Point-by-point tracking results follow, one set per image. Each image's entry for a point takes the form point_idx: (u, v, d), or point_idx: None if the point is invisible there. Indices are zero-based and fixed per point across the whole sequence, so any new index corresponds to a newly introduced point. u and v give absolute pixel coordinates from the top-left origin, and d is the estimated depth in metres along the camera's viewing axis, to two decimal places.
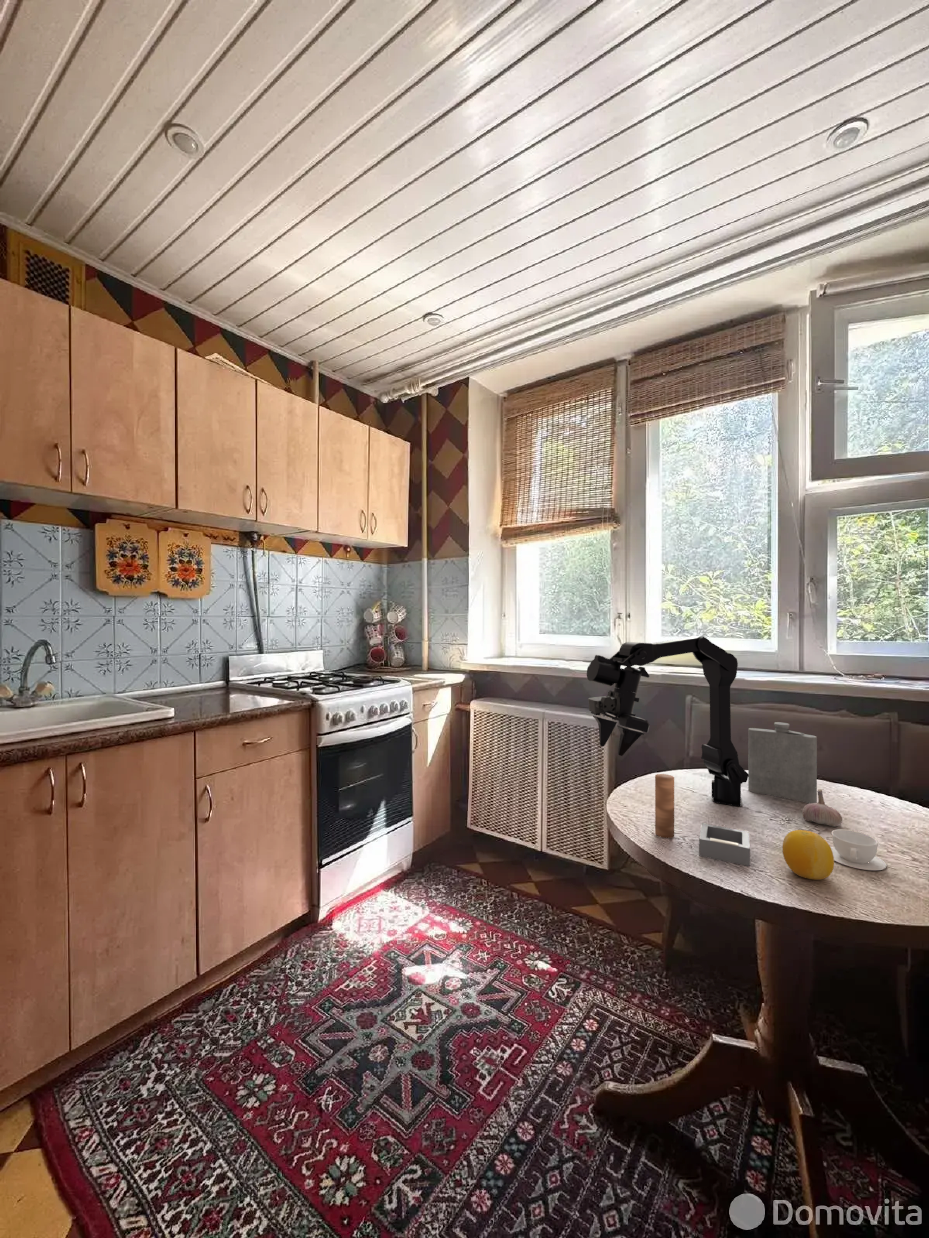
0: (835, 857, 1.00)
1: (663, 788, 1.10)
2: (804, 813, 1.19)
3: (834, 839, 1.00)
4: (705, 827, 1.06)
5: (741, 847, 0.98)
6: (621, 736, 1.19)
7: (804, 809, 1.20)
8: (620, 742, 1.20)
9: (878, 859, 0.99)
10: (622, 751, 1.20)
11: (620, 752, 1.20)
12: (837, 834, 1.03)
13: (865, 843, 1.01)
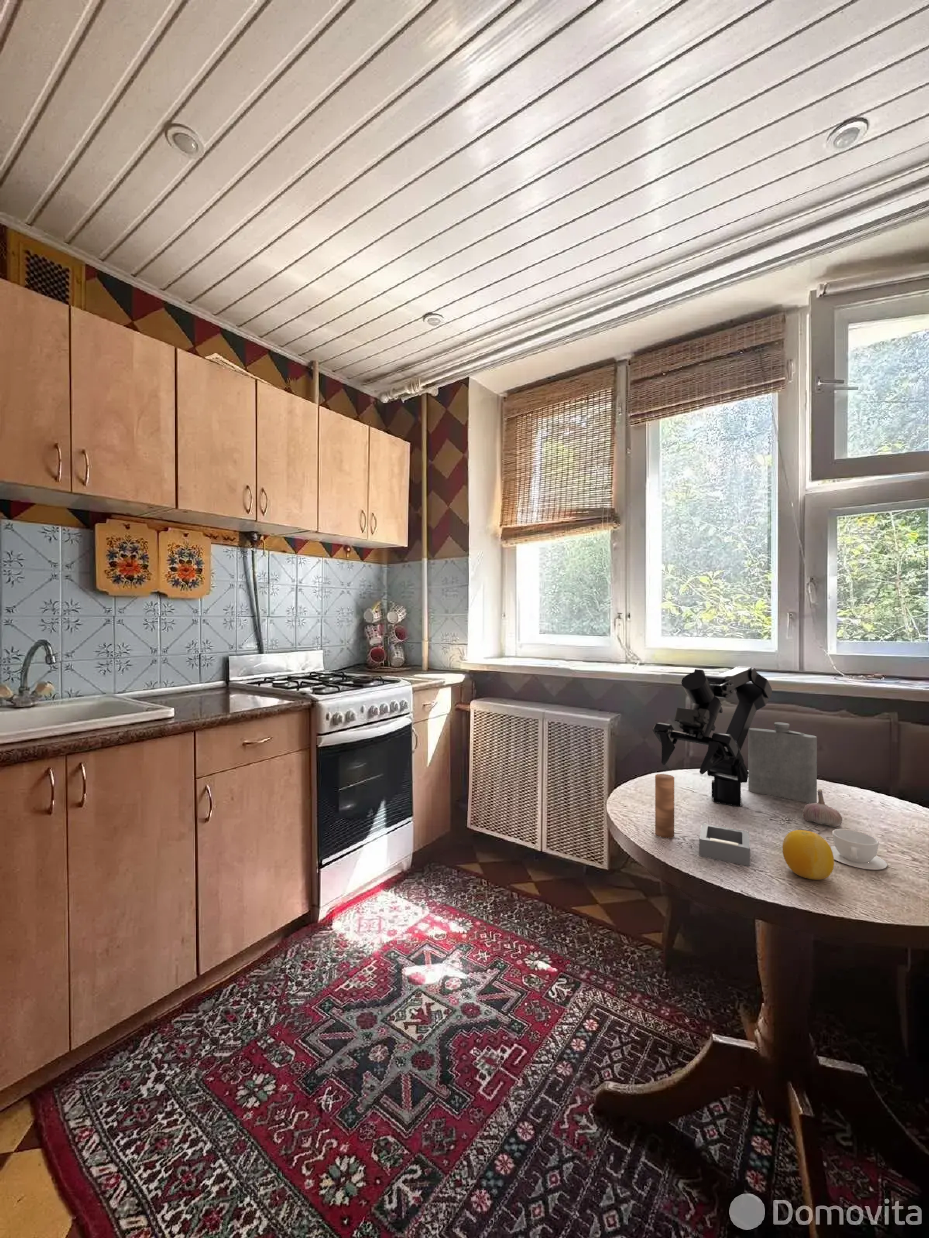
0: (836, 856, 1.00)
1: (663, 788, 1.10)
2: (804, 813, 1.19)
3: (835, 838, 1.01)
4: (705, 827, 1.06)
5: (741, 847, 0.98)
6: (709, 753, 1.13)
7: (804, 809, 1.20)
8: (706, 759, 1.13)
9: (879, 858, 1.00)
10: (704, 770, 1.13)
11: (703, 769, 1.12)
12: (838, 833, 1.03)
13: (865, 843, 1.01)
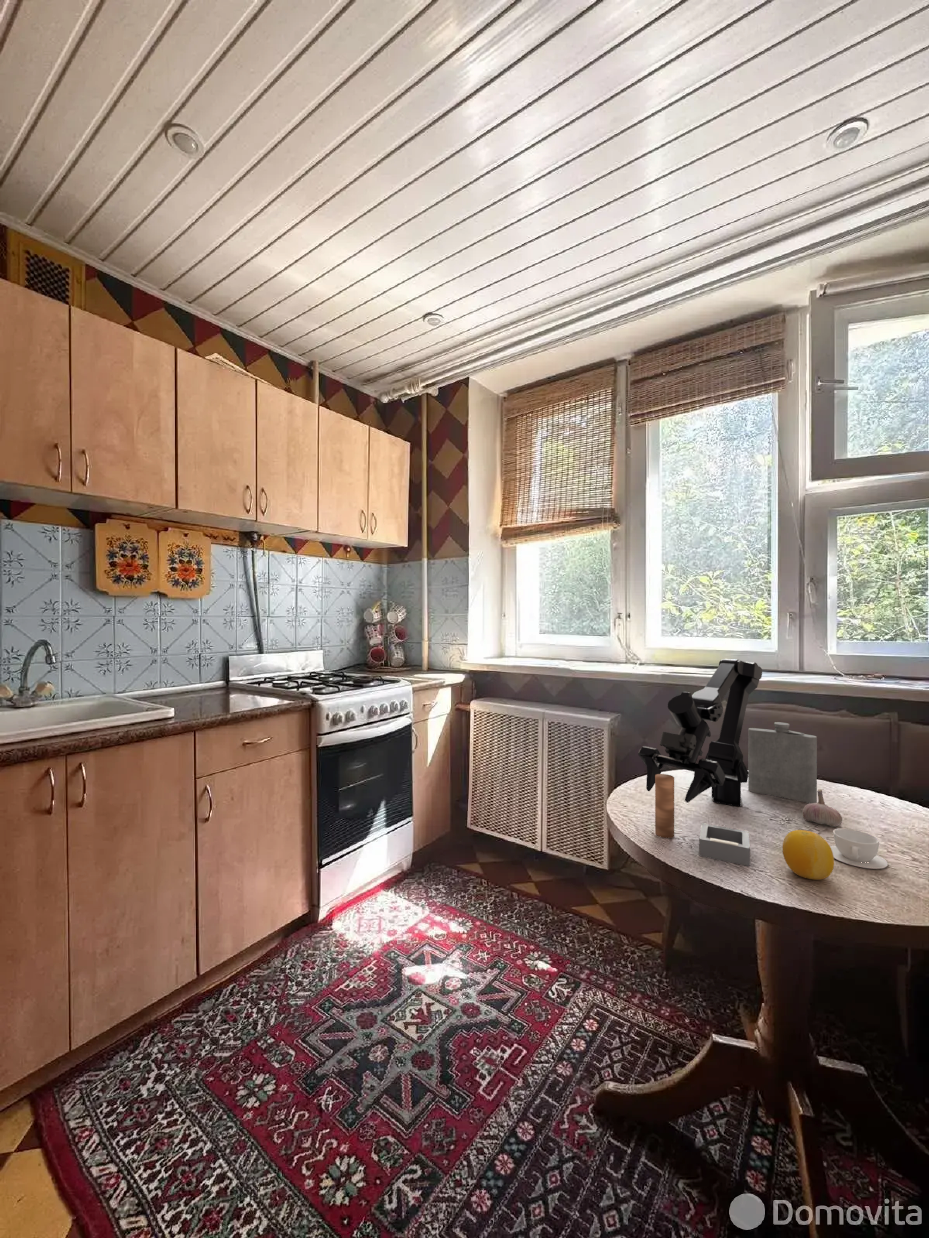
0: (837, 856, 1.01)
1: (663, 788, 1.10)
2: (804, 813, 1.19)
3: (836, 838, 1.01)
4: (705, 827, 1.06)
5: (741, 847, 0.98)
6: (694, 781, 1.09)
7: (804, 809, 1.20)
8: (692, 787, 1.09)
9: (879, 857, 1.00)
10: (690, 798, 1.09)
11: (688, 798, 1.08)
12: (839, 833, 1.04)
13: (866, 842, 1.02)
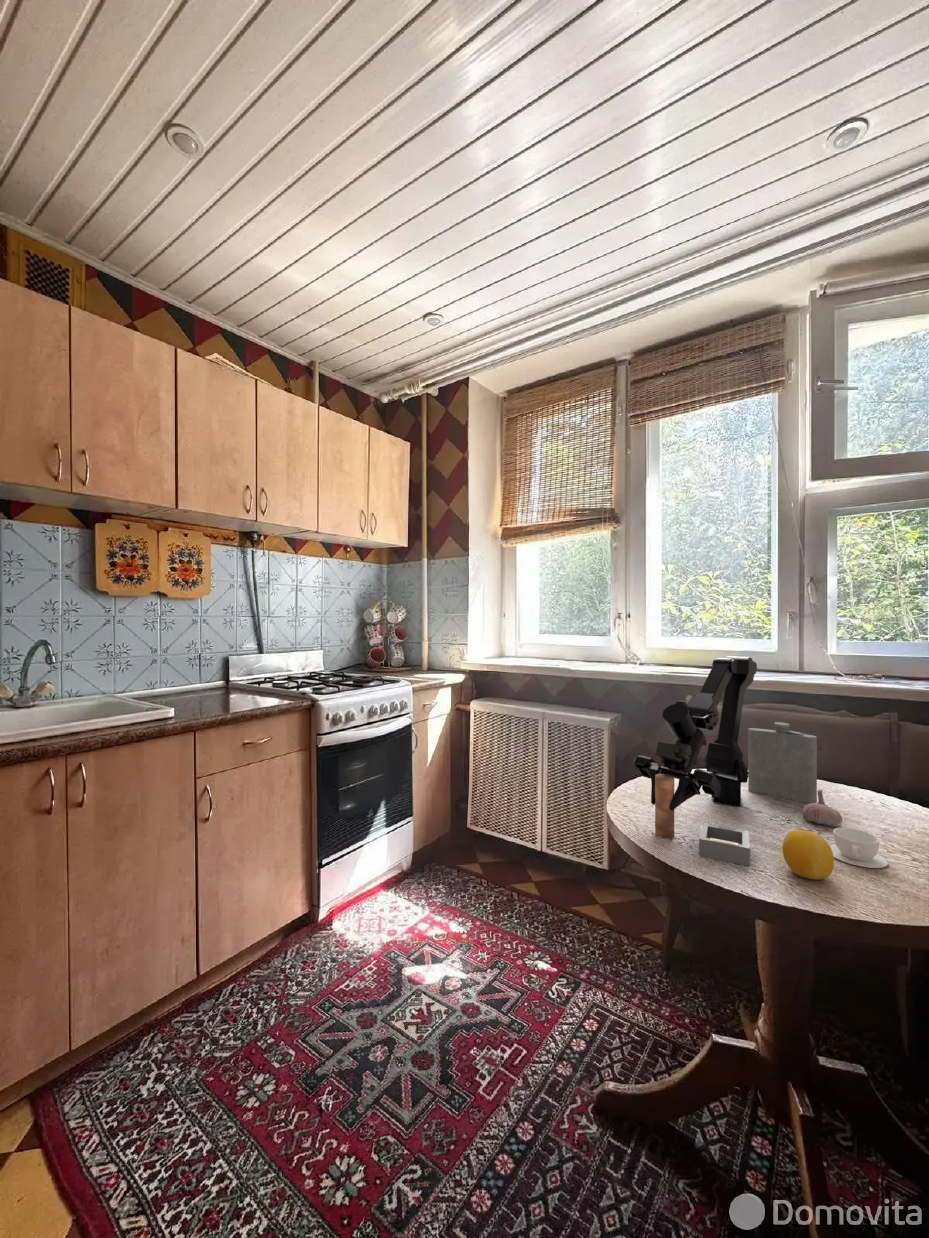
0: (837, 855, 1.01)
1: (663, 788, 1.10)
2: (804, 813, 1.19)
3: (836, 837, 1.01)
4: (705, 827, 1.06)
5: (741, 847, 0.98)
6: (679, 789, 1.10)
7: (804, 809, 1.20)
8: (676, 795, 1.09)
9: (880, 857, 1.00)
10: (674, 806, 1.09)
11: (673, 806, 1.09)
12: (839, 832, 1.04)
13: (866, 841, 1.02)
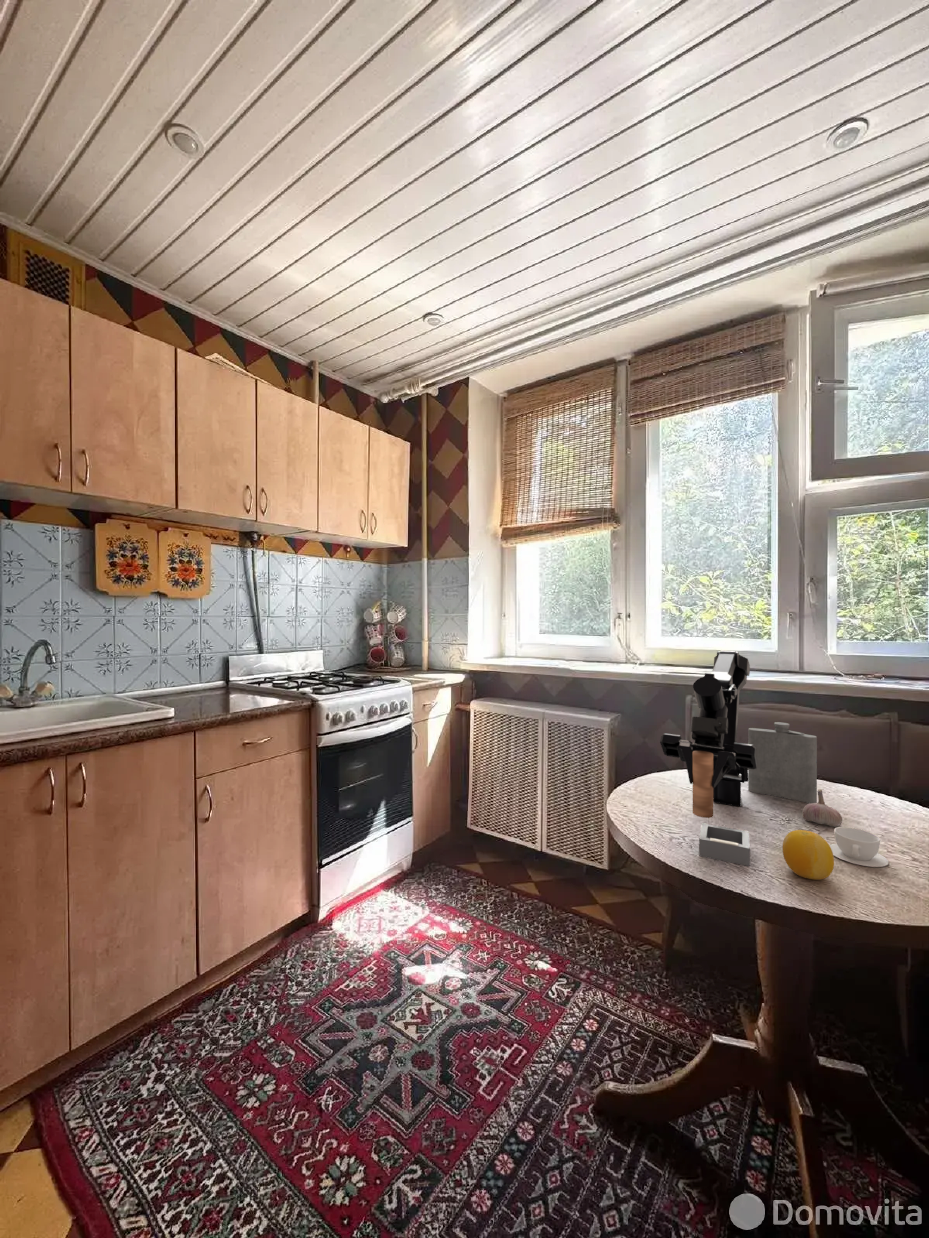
0: (837, 854, 1.02)
1: (705, 765, 1.03)
2: (804, 813, 1.19)
3: (837, 836, 1.02)
4: (705, 827, 1.06)
5: (741, 847, 0.98)
6: (719, 764, 1.04)
7: (804, 809, 1.20)
8: (717, 771, 1.04)
9: (880, 856, 1.01)
10: (716, 783, 1.03)
11: (715, 783, 1.03)
12: (840, 831, 1.04)
13: (867, 840, 1.02)
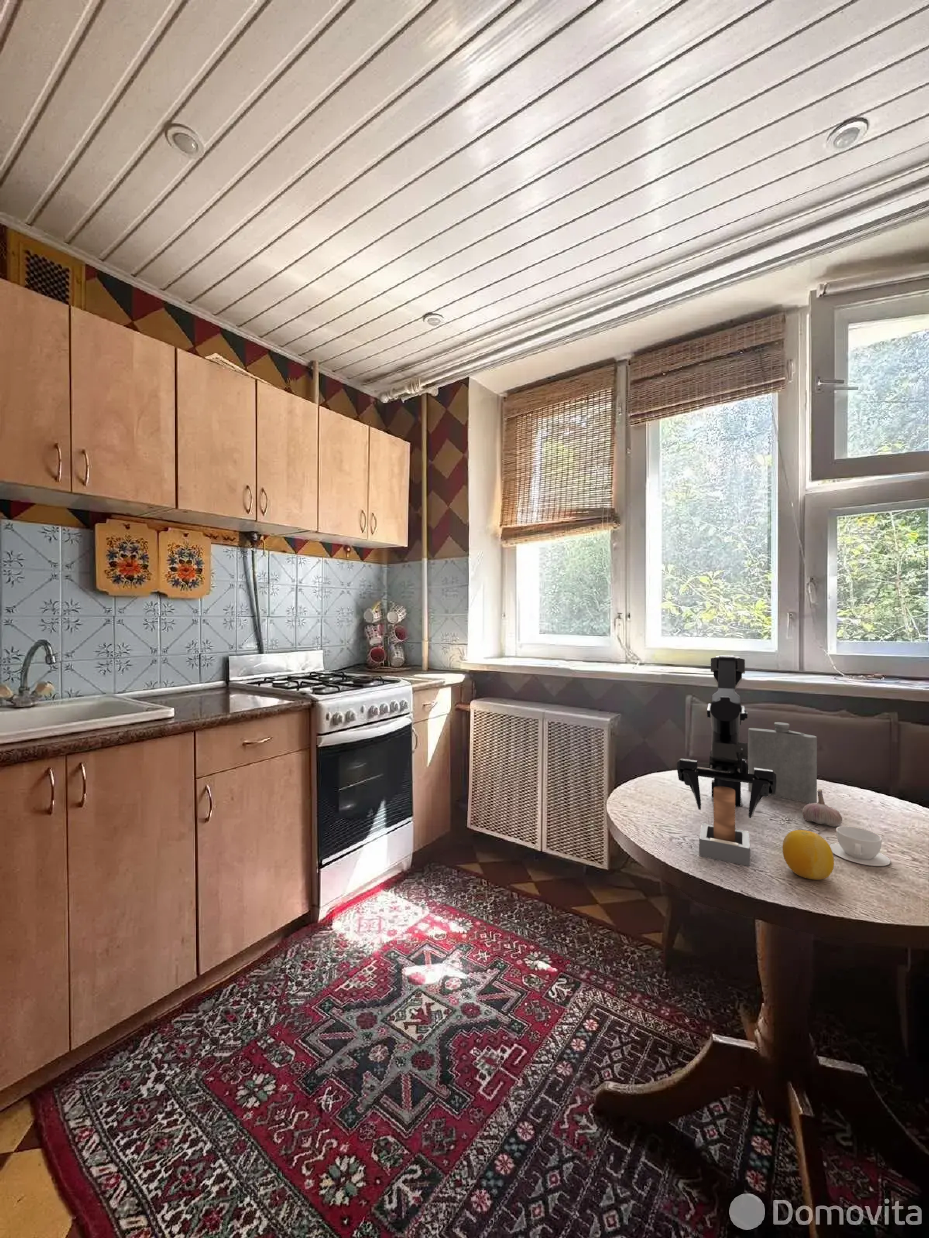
0: (840, 853, 1.02)
1: (728, 802, 1.01)
2: (804, 813, 1.19)
3: (839, 835, 1.02)
4: (705, 827, 1.06)
5: (741, 847, 0.98)
6: (754, 793, 1.01)
7: (804, 809, 1.20)
8: (753, 800, 1.01)
9: (882, 855, 1.01)
10: (752, 813, 1.00)
11: (752, 813, 1.00)
12: (842, 831, 1.05)
13: (869, 839, 1.03)
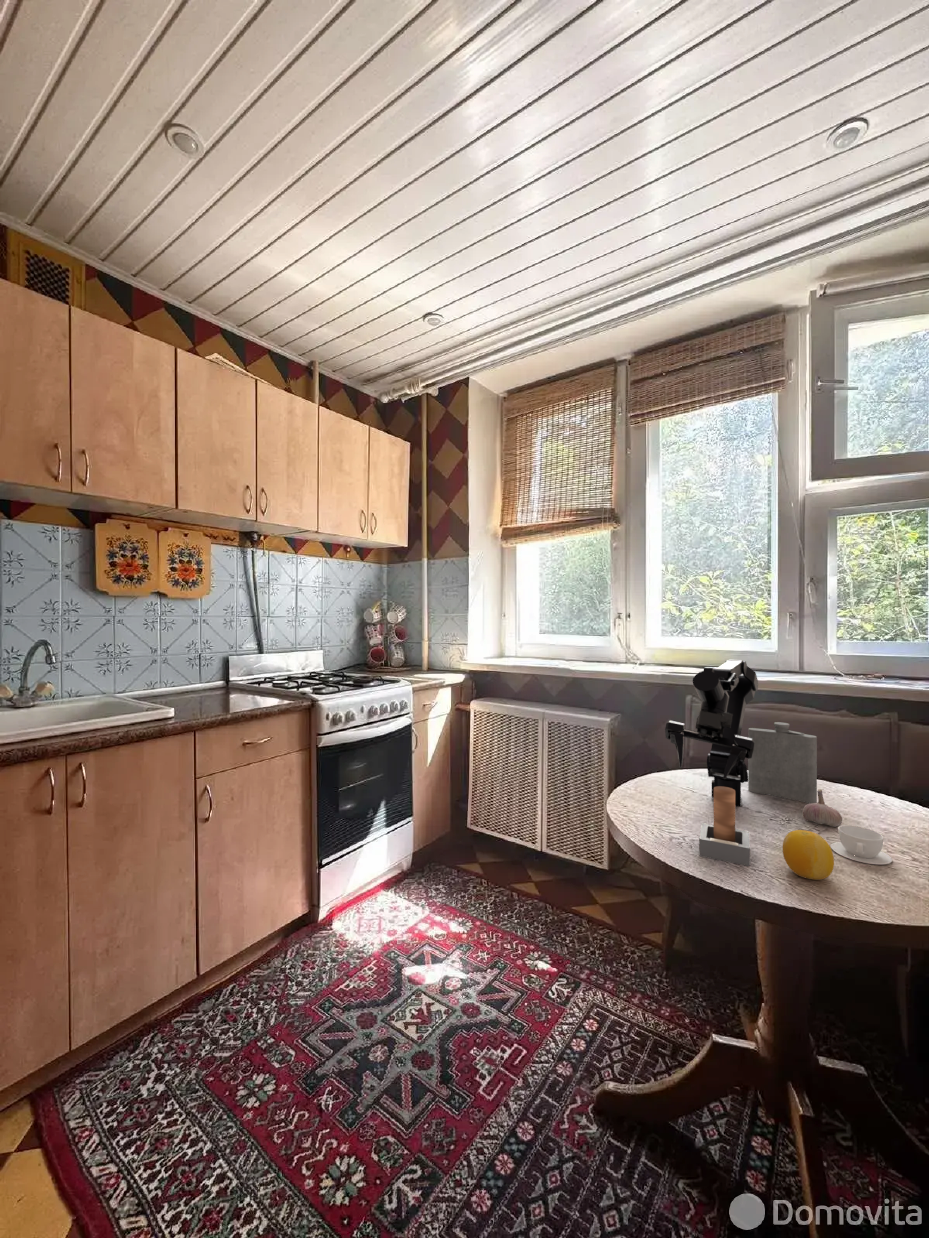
0: (842, 852, 1.02)
1: (728, 802, 1.01)
2: (804, 813, 1.19)
3: (841, 834, 1.03)
4: (705, 827, 1.06)
5: (741, 847, 0.98)
6: (731, 758, 1.12)
7: (804, 809, 1.20)
8: (729, 764, 1.12)
9: (884, 853, 1.02)
10: (727, 774, 1.12)
11: (726, 775, 1.11)
12: (843, 829, 1.05)
13: (870, 838, 1.03)
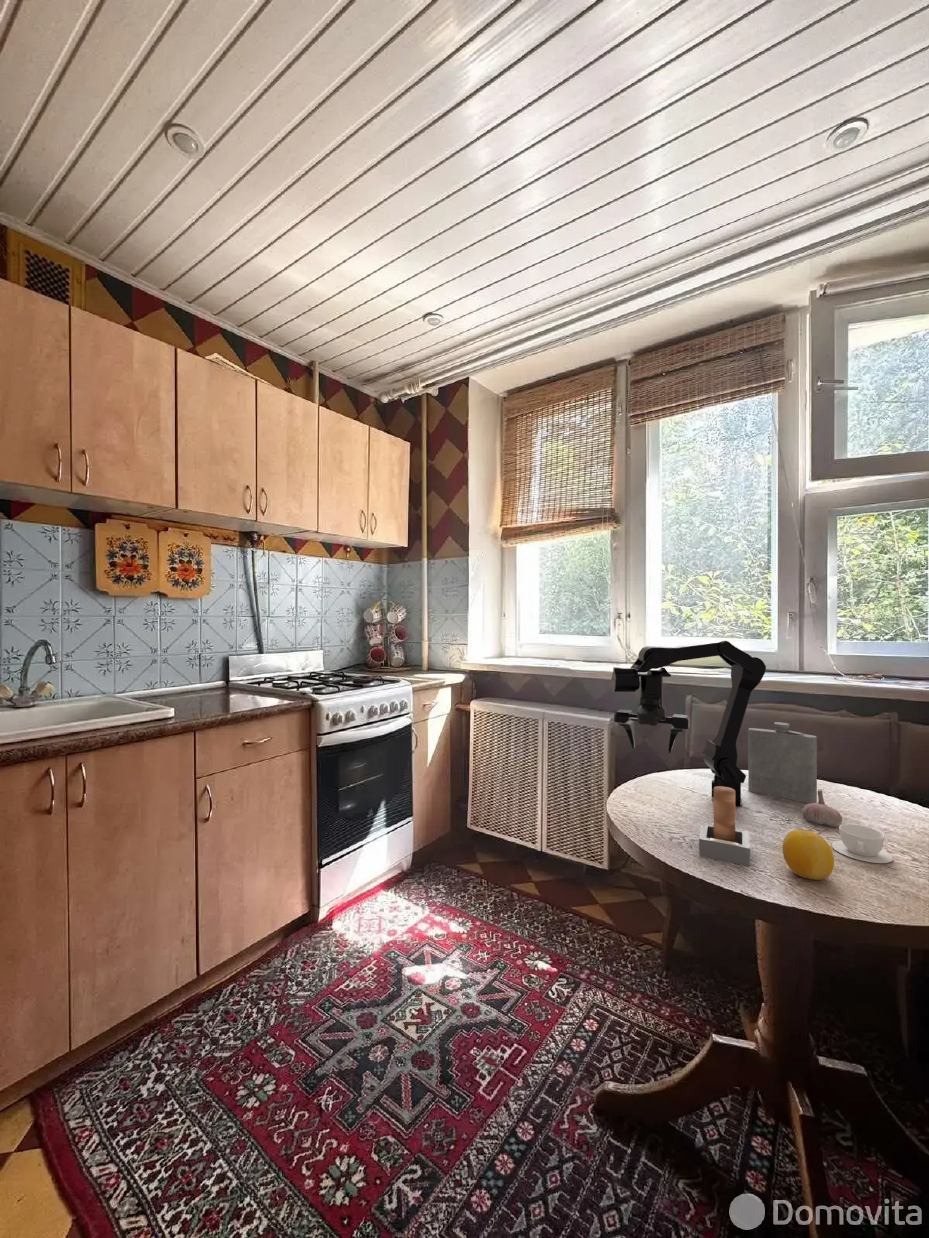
0: (842, 850, 1.03)
1: (728, 802, 1.01)
2: (804, 813, 1.19)
3: (841, 833, 1.03)
4: (705, 827, 1.06)
5: (741, 847, 0.98)
6: (672, 737, 1.30)
7: (804, 809, 1.20)
8: (671, 742, 1.30)
9: (884, 852, 1.02)
10: (671, 748, 1.31)
11: None
12: (844, 828, 1.06)
13: (871, 837, 1.04)
